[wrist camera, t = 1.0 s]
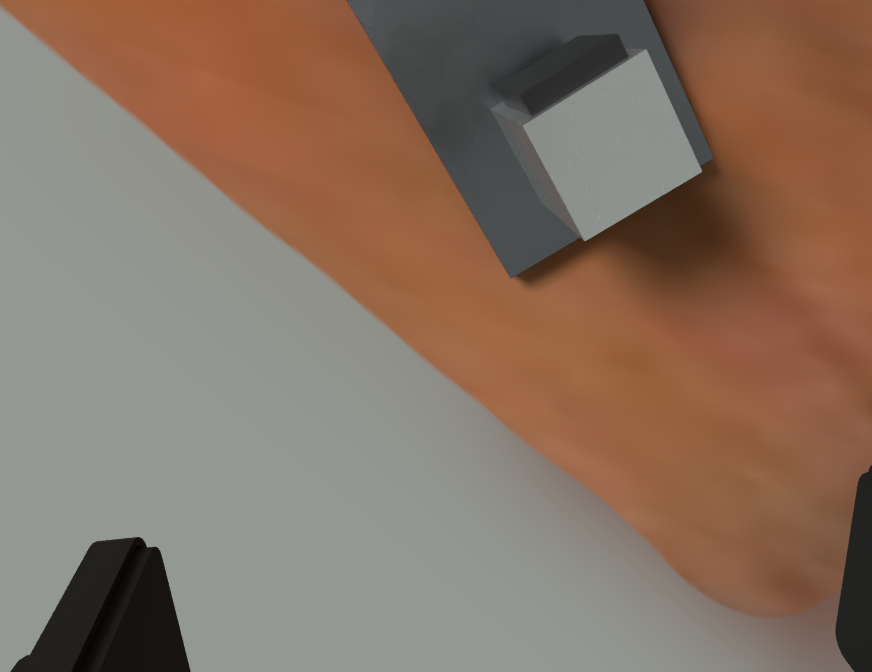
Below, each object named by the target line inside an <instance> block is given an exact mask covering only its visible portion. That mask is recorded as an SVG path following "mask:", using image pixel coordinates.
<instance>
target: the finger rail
mask: <svg viewBox="0 0 872 672" xmlns="http://www.w3.org/2000/svg"><path fill="white" fill-rule="evenodd" d="M347 1H348V3H349V5H350V7H351V8H352V10H353V12H354V13H355V15H356V17H357V18H358V20H359V22H360V24H361V25H362V27H363V29H364V30H365V32H366V34H367V35H368V37H369V39H370V41H371V42H372V44H373V46H374V47H375V49H376V51H377V52H378V54H379V56H380V57H381V59H382V61H383V63H384V64H385V66H386V68H387V69H388V71H389V73H390V74H391V76H392V78H393V80H394V81H395V83H396V85H397V86H398V88H399V90H400V91H401V93H402V95H403V97H404V98H405V100H406V102H407V103H408V105H409V107H410V108H411V110H412V112H413V114H414V115H415V117H416V119H417V120H418V122H419V124H420V125H421V127H422V129H423V131H424V132H425V134H426V136H427V137H428V139H429V141H430V142H431V144H432V146H433V148H434V149H435V151H436V153H437V154H438V156H439V158H440V159H441V161H442V163H443V165H444V166H445V168H446V170H447V171H448V173H449V175H450V176H451V178H452V180H453V182H454V183H455V185H456V187H457V188H458V190H459V192H460V193H461V195H462V197H463V199H464V200H465V202H466V204H467V205H468V207H469V209H470V210H471V212H472V214H473V216H474V217H475V219H476V221H477V222H478V224H479V226H480V227H481V229H482V231H483V233H484V234H485V236H486V238H487V239H488V241H489V243H490V244H491V246H492V248H493V250H494V251H495V253H496V255H497V256H498V258H499V260H500V261H501V263H502V265H503V267H504V268H505V270H506V271H507V273H508V275H509V276H510V278H513V277H515V276H516V275H518V274H520V273H521V272H523V271H525V270H526V269H528V268H530V267H531V266H533V265H535V264H536V263H538V262H540V261H541V260H543V259H545V258H546V257H548V256H550V255H552V254H553V253H555V252H557V251H558V250H560V249H562V248H563V247H565V246H567V245H568V244H570V243H572V242H573V241H575V240H577V239H578V238H582V239H583V240H584V241H586V240H588V239H590V238H592V237H593V236H595V235H597V234H598V233H600V232H602V231H603V230H605V229H607V228H608V227H610V226H612V225H613V224H615V223H617V222H619V221H620V220H622V219H624V218H625V217H627V216H629V215H630V214H632V213H634V212H635V211H637V210H639V209H640V208H642V207H644V206H645V205H647V204H649V203H651V202H652V201H654V200H656V199H657V198H659V197H661V196H662V195H664V194H666V193H667V192H669V191H671V190H672V189H674V188H676V187H678V186H679V185H681V184H683V183H684V182H686V181H688V180H689V179H691V178H693V177H694V176H696V175H698V174H699V173H701V172H702V170H701V168H700V166H701V165H703V164H705V163H706V162H708V161H710V160H711V159H713V158H714V157H713V154H712V152H711V150H710V148H709V146H708V143H707V141H706V139H705V137H704V134H703V132H702V130H701V128H700V125H699V123H698V121H697V119H696V117H695V114H694V112H693V110H692V108H691V105H690V103H689V101H688V99H687V96H686V94H685V92H684V90H683V87H682V85H681V83H680V81H679V79H678V76H677V74H676V72H675V70H674V67H673V65H672V63H671V61H670V58H669V56H668V54H667V52H666V49H665V47H664V45H663V43H662V41H661V38H660V36H659V34H658V32H657V29H656V27H655V25H654V23H653V20H652V18H651V16H650V14H649V11H648V9H647V7H646V5H645V3H644V0H347Z"/></svg>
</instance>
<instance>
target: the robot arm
mask: <svg viewBox="0 0 872 672" xmlns="http://www.w3.org/2000/svg"><path fill="white" fill-rule="evenodd" d="M836 639H837V642H838V646H839V649H840V651H841V653H842V655H843V657H844V658H845V660H846V661H847V662H848V664H849V665H850V666H851V668H852V669H853V670H854V672H872V465H871V467H870V468H869V472H867V473H864V474H862V475H861V477H860V478H859V481H858V486H857V493H856V499H855V506H854V512H853V518H852V525H851V531H850V538H849V544H848V551H847V557H846V564H845V570H844V577H843V583H842V590H841V597H840V603H839V609H838V616H837V622H836ZM11 672H190V668H189V663H188V659H187V655H186V652H185V647H184V643H183V639H182V636H181V632H180V627H179V623H178V619H177V615H176V611H175V607H174V603H173V599H172V595H171V591H170V587H169V583H168V579H167V575H166V571H165V567H164V563H163V559H162V555H161V552H160V550H159V549H158V548H157V547H148V548H147V546H146V544H145V542H144V541H143V539H142V538H140V537H134V538H125V539H115V540H106V541H97V542H94V543H93V544H92V545H91V546H90V548H89V549H88V551H87V553H86V555H85V556H84V558H83V560H82V562H81V564H80V566H79V567H78V569H77V571H76V573H75V574H74V576H73V578H72V580H71V582H70V584H69V585H68V587H67V589H66V591H65V593H64V595H63V596H62V598H61V600H60V602H59V604H58V605H57V607H56V609H55V611H54V612H53V614H52V616H51V618H50V620H49V622H48V623H47V625H46V627H45V629H44V631H43V633H42V634H41V636H40V638H39V640H38V641H37V643H36V645H35V647H34V649H33V650H32V652H31V654H30V655H27V656H25V657H24V658H22V659H21V660H19V661H18V662H17V663H16V665H15V666H14V667H13V669H12V670H11Z"/></svg>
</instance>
